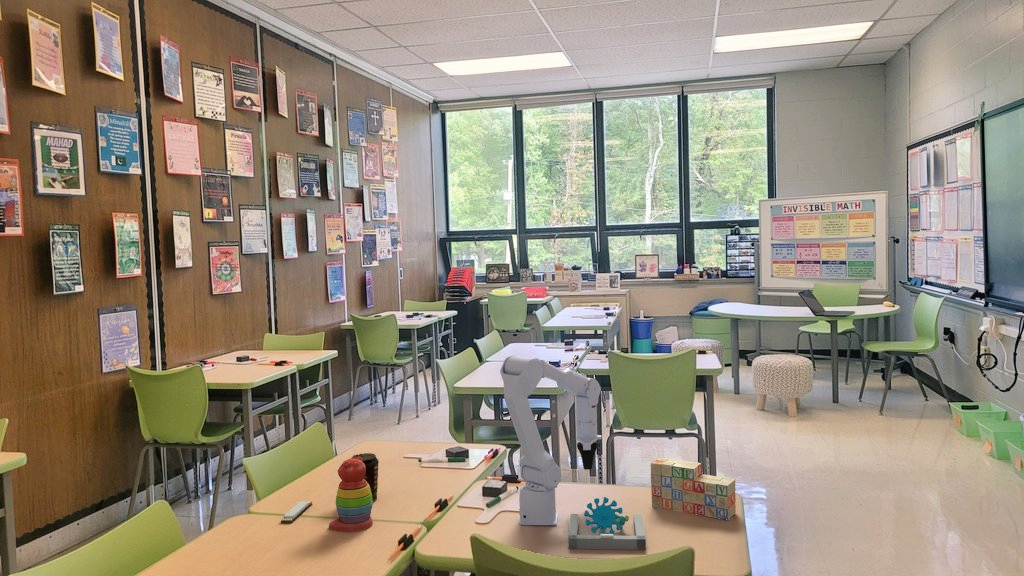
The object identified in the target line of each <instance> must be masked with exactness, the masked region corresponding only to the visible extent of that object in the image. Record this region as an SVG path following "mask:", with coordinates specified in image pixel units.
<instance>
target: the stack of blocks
mask: <svg viewBox="0 0 1024 576" xmlns="http://www.w3.org/2000/svg"><path fill="white" fill-rule="evenodd" d="M702 468H703V465H702V462H695V461H689V460H684V459H683V460H682V459H681V460H680V459H673V458H667V457H658V458H656V459H655V460H653V461H652V462H650V485H651V486H650V489H651V491H650V492H651V507H655V508H660V509H663V508H664V510H668V509H669V511H674V512H680V513H684V512H685V514H690V513H691V514H690V515H695V514H697V515H696V516H700V515H703V516H702V517H706V516H708V517H707V518H711V517H714V518H713V519H717V518H720V519H719V520H721V519H727V520H728V519H729V518H730V517H731V516H733V515H734V514H735V513H736V507H737V506H736V479H735V478H729V477H723V476H716V475H710V474H703V469H702ZM735 515H736V514H735ZM735 515H734V516H735ZM731 518H732V517H731ZM731 518H730V519H731ZM730 519H729V520H730ZM727 520H726V521H727ZM729 520H728V521H729Z"/></svg>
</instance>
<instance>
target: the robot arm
mask: <svg viewBox="0 0 1024 576" xmlns="http://www.w3.org/2000/svg"><path fill="white" fill-rule="evenodd" d="M575 370H576V369H575V368H574V367H570V366H569V367H565V368H562V369H561V368H558V367H557V366H555V365H553V364H550V363H549V362H547V361H546V360H543V359H539V358H538V357H534V358H533V357H531V358H530V357H525V356H524V357H523V356H517V355H513V354H511V355H508V356H507V357H505V359H504V360H503V362H502V365H501V367H500V369H499V372H500V375H501V376H500V377H501V379H502V381H503V399H504V402H505V404H506V407H507V410H508V413H509V416H510V418H511V422H512V425H513V428H514V431H515V433H516V436H517V439H518V442H519V444H520V448H521V451H522V453H523V454H522V456H521V458H520V459H519V462H518V463H519V465H520V477H521V478H522V480H523V481H524V482H525V485H523V486H520V487H519V498H518V499H519V509H518V511H519V525H521V526H557V525H558V519H559V518H558V517H559V513H558V512H557V509H556V508H557V507H556V505H557V504H556V488H558V485H559V483H560V482H561V479H562V470H561V468H560V466H559V465H558V464H557V463H556V462H555V458H554V457H553V456H552V455H551V454H550V453H548V452H547V451H546V449H545V446H544V444H543V440H542V437H541V435H540V432H539V428H538V426H537V423H536V420H535V417H534V415H533V411H532V408H531V405H530V402H529V399H528V398H529V396H531V395H532V394H533V392H534V390H536V388H537V386H538V385H539V383H540V381H542V379H544V378H546V379H549V380H551V381H554V382H556V386H557V387H558V388H559V389H561V390H564V391H566V392H569V393H570V394H571V395H572V396H573V397H575V417H576V418H575V422H576V423H575V424H576V425H575V426H576V435H575V440H576V441H578V442H576V448H577V450H578V452H579V453H580V457H581V458H580V459H581V460H582V461H581V462H582V466H583V470H586V471H587V470H588V471H589V470H592V469H593V464H594V457H595V453H596V451H597V449H598V441H597V440H602V435H601V434H600V435H599V434H598V409H597V408H598V407H597V406H598V403H599V397H600V395H601V391H602V386H601V385H600V383H599V382H598V380H597V379H596V378H594V377H593V378H592V377H587V376H586V374H585V373H583V372H580V373H579V372H578V371H575Z"/></svg>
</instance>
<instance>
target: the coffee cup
mask: <svg viewBox="0 0 1024 576" xmlns="http://www.w3.org/2000/svg"><path fill="white" fill-rule="evenodd" d="M358 457H361V458H362V460H363V461H362V462H363V463H364V464H365V467H366V472H365V476H364V478H363V479H365V480H366V481H367V483H368V484H369V486H370V490H371V493H372V501H373V503H375V502H376V501H377V499H378V487H379V486H378V485H379V484H378V483H379V482H378V480H379V463H380V462H379V461H380V460H379V459H378V458H377V455H376V454H375V453H372V452H368V453H367V452H366V453H365V452H364V453H359V454H358V453H357V454H354V455H352V457H350V459H352V458H355V459H357V458H358Z"/></svg>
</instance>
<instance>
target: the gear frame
mask: <svg viewBox="0 0 1024 576" xmlns="http://www.w3.org/2000/svg"><path fill="white" fill-rule="evenodd" d="M632 517H633V529H634V535H613V534H609V533H605V534H600V533H599V534H598V535H597V534H596V535H595V534H594V535H592V534H590V535H589V534H579V513H570V516H569V525H568V526H569V527H568V535H567V536H568V539H567V543H568V549H569V550H580V549H581V550H628V551H629V550H632V551H634V550H637V551H646V550H647V542H646V541H647V540H646V534H645V533H646V532H645V528H644V522H643V516H642V514H638V513H637V514H633V516H632Z"/></svg>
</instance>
